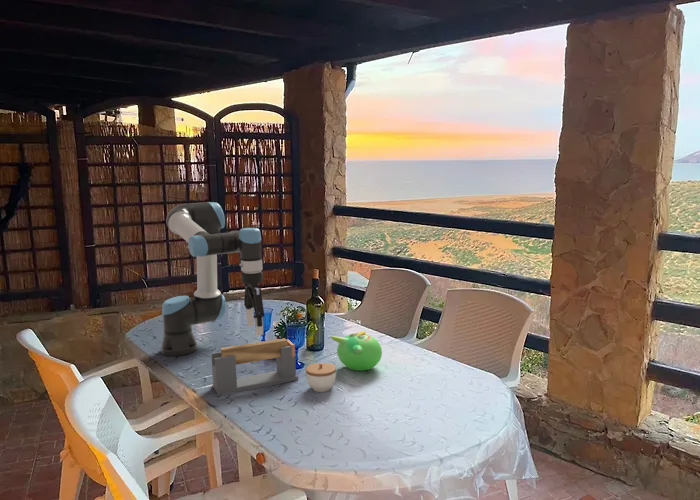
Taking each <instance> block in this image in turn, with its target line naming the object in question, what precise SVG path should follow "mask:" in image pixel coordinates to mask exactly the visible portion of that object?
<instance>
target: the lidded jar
mask: <svg viewBox="0 0 700 500" xmlns="http://www.w3.org/2000/svg"><path fill="white" fill-rule="evenodd" d="M305 374H306V380H307V385H309V387H310V388H311V389H312V390H313V391H314V392H317V393H326V392H328V391H330V390H331V388H332V387H333V386H334V385H335V381H336V378H337V377H336V376H337V366H336V365H335V364H333V363H330V362H317V363H316V362H315V363H312V364H309V365H308V366H307V367H306V368H305Z"/></svg>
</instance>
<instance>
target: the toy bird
mask: <svg viewBox="0 0 700 500" xmlns="http://www.w3.org/2000/svg"><path fill="white" fill-rule="evenodd" d="M366 332H367V330H362V331H358V332H354V333H350V334H347V335H345V336H344V337H343V336H342V337H341V336H338V335H337V336H336V335H331V336H330V339H332V340H333V341H334V342H336V343H338V345H337V349H336V354H337V357H338V359H339V361H340V363H342V364H343V365H344V366H345V367H346V368H348V369H350V370H353V371H358V372H359V371H368V370H370V369H373V368H374V367H376V366H377V365H378V363H380V361H381V359H382V356H383V355H382V354H383V351H382V345H381V344H380V342H379V341H378V340H377V339H376V338H375V337H374V336H372V335H370V334H368V333H366Z"/></svg>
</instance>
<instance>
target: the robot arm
mask: <svg viewBox="0 0 700 500" xmlns="http://www.w3.org/2000/svg"><path fill="white" fill-rule="evenodd" d="M225 225H226V217H225V214H224V211H223V208H222V206H221V205H220V204H219V203H218V202H214V201H213V202H212V201H210V202H209V201H207V202H206V201H205V202H192V203H182V204H178V205H175V206H174V207H173V208H171V210H170V211H169V212H168V213H167V215H166V226H167V228H168V229H169V231H170V232H172V233H173V234H175V235H178V236H180V237H181V238H182V239H183V240H184V241H186V242H187V244H188V251H189V254H190V255H191V256H192V257H196V281H197V282H196V285H197V289H196V290H195V291H194V293H193V297H191V298H190V297H189V295H178V296H174V297H170V298H168V299H166V300H164V302H163V303H162V305H161V307H162V308H161V310H162V311H161V315H162V324H163V337H162V338H163V339H162V342H161V347H160V350H161V351H160V352H161V354H162V355H164V356H167V357H168V356H169V357H177V356H184V355H189V354H192V353H194V352H196V351H197V350H198V343H197V340H196V338H195V336H194V333H193V329H192V327H193V325H194V326H195V325H199V324H206V323H214V322H216V321H217V322H218V321H221V320H222V319H223V318H224V316H225V313H226V310H227V309H226V308H227V303H226V298H225V296H224V295H223V294H222V293H221V291H220V290H219V289H218V256H217V255H222V254H223V255H225V254H233V253H239V255H240V256H239V257H240V259H239V260H240V263H239V265H238V266H240V271H241V283H243V284H244V298H243V299H244V301H243V302H244V303H243V305H244V307H245V309H246V310H245V313H246V328H247V327H254V330H255V332H254V333H255V336H261V335H264V321H263V320H264V319H263V317H265V309H264V303H263V297H262V295H263V294H262V287H259V284H261V283H262V282H263V281H264V277H263V276H264V274H263V256H262V255H263V253H262V236H261V230H260V229H259V228H257V227H244V228H240V230H231V231H230V232H221V230H222V229H224V228H225Z"/></svg>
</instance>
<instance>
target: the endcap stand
mask: <svg viewBox="0 0 700 500" xmlns="http://www.w3.org/2000/svg"><path fill="white" fill-rule="evenodd" d="M287 343H288V346H286V347H280V350H281V357H278V358H275V359H276V362H275V363H276V370H275V371H269V372H262V373H257V374H252V375H245V376H240V377H237V365H236V361H235V355H231V356H225V357H221V351H214V352H211V353H210V355H211V368H212V387H213V389H214V391H215V392H216V394H217V396H223V395H226V394H227V395H228V394H232V393H237V392H238V393H239V392H243V391H248V390H253V389H260V388H263V387H270V386H275V385H280V384H284V383H291V382H295V381H298V380H299V376H298V375H297V368H296V367H297V365H296V363H297V362H296V346H295V345H296V344H295V343H294V344H293V343H292V342H291V341H290V340H289V339H287Z"/></svg>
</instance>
